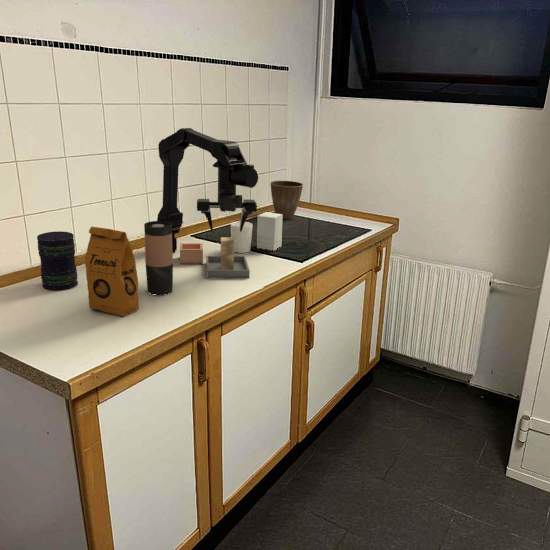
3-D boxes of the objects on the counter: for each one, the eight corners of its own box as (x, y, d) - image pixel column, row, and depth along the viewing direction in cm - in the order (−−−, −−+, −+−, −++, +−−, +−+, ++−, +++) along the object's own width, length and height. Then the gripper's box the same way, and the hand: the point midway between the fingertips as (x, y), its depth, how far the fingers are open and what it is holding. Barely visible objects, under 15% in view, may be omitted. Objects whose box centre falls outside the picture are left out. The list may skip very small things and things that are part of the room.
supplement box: (282, 246, 204) (283, 214, 199) (273, 251, 197) (275, 217, 193) (264, 243, 207) (265, 211, 202) (256, 248, 200) (257, 215, 196)
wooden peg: (221, 270, 173) (221, 240, 169) (220, 266, 176) (220, 237, 173) (233, 270, 173) (234, 240, 170) (232, 266, 177) (233, 237, 174)
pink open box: (180, 264, 179) (179, 249, 177) (180, 257, 186) (180, 243, 184) (202, 263, 180) (202, 249, 178) (202, 257, 187) (202, 243, 186)
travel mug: (178, 288, 158) (176, 222, 151) (165, 297, 151) (163, 228, 144) (155, 284, 160) (153, 219, 153) (141, 293, 153) (138, 225, 146)
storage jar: (41, 281, 159) (36, 232, 154) (76, 277, 163) (72, 230, 158) (42, 292, 150) (36, 241, 145) (79, 289, 154) (75, 239, 149)
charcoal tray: (207, 278, 167) (207, 270, 166) (206, 262, 181) (206, 255, 180) (249, 277, 169) (249, 270, 168) (244, 262, 183) (245, 255, 182)
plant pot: (299, 214, 256) (301, 181, 251) (302, 222, 242) (304, 186, 237) (268, 213, 255) (269, 180, 250) (269, 221, 241) (271, 185, 236)
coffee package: (120, 321, 135) (115, 237, 127) (83, 311, 140) (76, 229, 132) (146, 308, 143) (142, 228, 136) (110, 298, 148) (104, 221, 141)
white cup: (253, 248, 200) (253, 222, 197) (250, 254, 193) (250, 227, 189) (232, 246, 201) (232, 220, 197) (228, 252, 193) (228, 226, 190)
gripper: (196, 187, 158) (197, 238, 163) (259, 188, 160) (257, 238, 166) (196, 180, 168) (196, 228, 173) (255, 182, 171) (254, 229, 176)
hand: (226, 231), depth 172 cm, fingers open, 9 cm apart
